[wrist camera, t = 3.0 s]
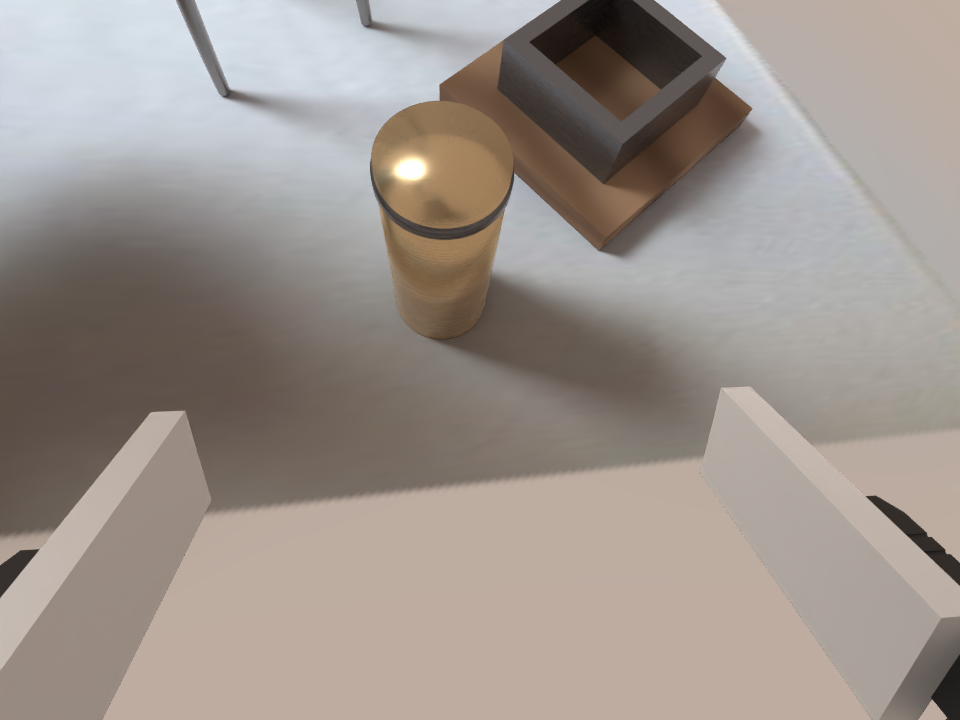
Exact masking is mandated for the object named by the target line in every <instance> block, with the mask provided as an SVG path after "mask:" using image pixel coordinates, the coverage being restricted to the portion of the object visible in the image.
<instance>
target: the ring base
mask: <svg viewBox="0 0 960 720" xmlns="http://www.w3.org/2000/svg"><path fill="white" fill-rule="evenodd" d="M503 42H504V40H503V41H502V42H501V43H499V44H498V45H496V46H495V47H493V48H492V49H490V50H489V51H488V52H486V53H485V54H483V55H482V56H480V57H479V58H477V59H476V60H475V61H473V62H472V63H470V64H469V65H467V66H466V67H464V68H463V69H462V70H460V71H459V72H457V73H456V74H454V75H453V76H451V77H450V78H449V79H447V80H446V81H444V82H443V83H441V84H440V101H449V102H456V103H460V104H464V105H467V106H470V107H472V108H474V109H476V110H478V111H480V112H482V113H484V114H485V115H487V116H488V117H489V118H491V119H492V120H493V121H494V122H495V123H496V124H497V125H498V126H499V127H500V128H501V130H502V131H503V132H504V134H505V135H506V137H507V139H508V141H509V144H510V146H511V149H512V154H513V163H514V172H515V173H516V174H517V175H518V176H519V177H520V178H521V179H522V180H523V181H524V182H525V183H526V184H527V185H529V186H530V187H531V188H532V189H533V190H534V191H535V192H536V193H537V194H538V195H539V196H540V197H541V198H543V199H544V200H545V201H546V202H547V203H548V204H549V205H550V206H551V207H552V208H553V209H554V210H555V211H557V212H558V213H559V214H560V215H561V216H562V217H563V218H564V219H565V220H566V221H567V222H568V223H569V224H571V225H572V226H573V227H574V228H575V229H576V230H577V231H578V232H579V233H580V234H581V235H582V236H583V237H585V238H586V239H587V240H588V241H589V242H590V243H591V244H592V245H593V246H594V247H595V248H596V249H597V250H600V249H601V248H602V247H603V246H604V245H606V244H607V243H608V242H609V241H610V240H611V239H612V238H613V237H615V236H616V235H617V234H618V233H619V232H620V231H621V230H623V229H624V228H625V227H626V226H627V225H628V224H629V223H630V222H632V221H633V220H634V219H635V218H636V217H637V216H638V215H639V214H641V213H642V212H643V211H644V210H645V209H646V208H647V207H648V206H650V205H651V204H652V203H653V202H654V201H655V200H656V199H657V198H659V197H660V196H661V195H662V194H663V193H664V192H665V191H666V190H668V189H669V188H670V187H671V186H672V185H673V184H674V183H676V182H677V181H678V180H679V179H680V178H681V177H682V176H683V175H685V174H686V173H687V172H688V171H689V170H690V169H691V168H692V167H694V166H695V165H696V164H697V163H698V162H699V161H700V160H701V159H703V158H704V157H705V156H706V155H707V154H708V153H709V152H710V151H712V150H713V149H714V148H715V147H716V146H717V145H718V144H719V143H721V142H722V141H723V140H724V139H725V138H726V137H727V136H729V135H730V134H731V133H732V132H733V131H734V130H735V129H736V128H738V127H739V126H740V125H741V123H742V122H743V121H744V119H745V118H746V117H747V115H748V114H749V113H750V111H751V110H752V109H753V108H751V107H750V106H749V105H748V104H746V103H745V102H744V101H743V100H742V99H740V98H739V97H738V96H737V95H735V94H734V93H733V92H732V91H730V90H729V89H728V88H727V87H726V86H724V85H723V84H722V83H721V82H719V81H718V80H717V79H716V78H714V80H713V81H712V83H711V84H710V86H709V88H708V89H707V91H706V93H705V94H704V96H703V98H702V99H701V101H700V102H699V104H698V105H697V106H696V107H695V108H693V109H692V110H691V111H690V112H689V113H687V114H686V115H685V116H684V117H683V118H682V119H680V120H679V121H678V122H677V123H676V124H674V125H673V126H672V127H671V128H670V129H668V130H667V131H666V132H665V133H664V134H663V135H661V136H660V137H659V138H658V139H657V140H655V141H654V142H653V143H652V144H651V145H650V146H648V147H647V148H646V149H645V150H644V151H642V152H641V153H640V154H639V155H638V156H636V157H635V158H634V159H633V160H632V161H631V162H629V163H628V164H627V165H626V166H625V167H623V168H622V169H621V170H620V171H619V172H617V173H616V174H615V175H614V176H613V177H612V178H610V179H609V180H608V181H607V182H606V183H604V184H602V183H601V182H600V181H599V180H598V179H597V178H596V177H595V176H594V175H592V174H591V173H590V172H589V171H588V170H587V169H586V168H585V167H584V166H582V165H581V164H580V163H579V162H578V161H577V160H576V159H575V158H574V157H572V156H571V155H570V154H569V153H568V152H567V151H566V150H565V149H563V148H562V147H561V146H560V145H559V144H558V143H557V142H556V141H555V140H553V139H552V138H551V137H550V136H549V135H548V134H547V133H546V132H545V131H543V130H542V129H541V128H540V127H539V126H538V125H537V124H536V123H535V122H533V121H532V120H531V119H530V118H529V117H528V116H527V115H526V114H525V113H523V112H522V111H521V110H520V109H519V108H518V107H517V106H516V105H514V104H513V103H512V102H511V101H510V100H509V99H508V98H507V97H506V96H504V95H503V94H502V93H501V92H500V91H499V90H498V89H497V87H498V79H499V72H500V64H501V57H502V49H503ZM556 66H557V67H558V68H560V69H561V70H562V71H563V72H564V73H565V74H567V75H568V76H569V77H570V78H571V79H572V80H573V81H575V82H576V83H577V84H578V85H579V86H580V87H582V88H583V89H584V90H585V91H586V92H587V93H589V94H590V95H591V96H592V97H593V98H594V99H595V100H597V101H598V102H599V103H600V104H601V105H602V106H604V107H605V108H606V109H607V110H608V111H609V112H610V113H612V114H613V115H614V116H615V117H616V118H617V119H619V120H620V121H621V122H622V121H623V120H624V119H625V118H627V117H628V116H629V115H630V114H632V113H633V112H634V111H635V110H637V109H638V108H639V107H640V106H641V105H643V104H644V103H645V102H646V101H648V100H649V99H650V98H651V97H653V96H654V95H655V94H656V93H658V92H659V91H660V90H661V89H660V88H658V87H657V86H656V85H655V84H654V83H652V82H651V81H650V80H649V79H648V78H646V77H645V76H644V75H643V74H642V73H640V72H639V71H638V70H637V69H636V68H634V67H633V66H632V65H631V64H630V63H628V62H627V61H626V60H625V59H624V58H622V57H621V56H620V55H619V54H618V53H616V52H615V51H614V50H613V49H612V48H611V47H609V46H608V45H607V44H606V43H605V42H603V41H602V40H601V39H600V38H599V37H597V36H596V35H595V36H594V37H593V38H591V39H590V40H589V41H587V42H586V43H585V44H583V45H582V46H580V47H579V48H578V49H576V50H575V51H574V52H572V53H571V54H570V55H568V56H567V57H565V58H564V59H563V60H561V61H560V62H559V63H557V64H556Z"/></svg>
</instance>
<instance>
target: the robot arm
mask: <svg viewBox="0 0 960 720" xmlns="http://www.w3.org/2000/svg"><path fill="white" fill-rule="evenodd" d="M700 474H701V475H702V476H703V478H704V479H705V481H706V482H707V484H708V485H709V487H710V488H711V489H712V491H713V492H714V494H715V495H716V496H717V498H718V499H719V501H720V502H721V504H722V505H723V507H724V508H725V509H726V511H727V512H728V514H729V515H730V516H731V518H732V520H733V521H734V522H735V524H736V525H737V527H738V528H739V529H740V531H741V532H742V534H743V535H744V537H745V538H746V540H747V541H748V542H749V544H750V545H751V547H752V548H753V550H754V551H755V552H756V554H757V555H758V557H759V558H760V560H761V561H762V563H763V564H764V565H765V567H766V568H767V569H768V571H769V573H770V574H771V575H772V577H773V578H774V580H775V581H776V583H777V584H778V585H779V587H780V588H781V590H782V591H783V592H784V594H785V595H786V597H787V598H788V600H789V601H790V603H791V604H792V605H793V607H794V608H795V610H796V611H797V613H798V614H799V616H800V617H801V618H802V620H803V621H804V623H805V624H806V626H807V627H808V628H809V630H810V631H811V633H812V634H813V636H814V637H815V638H816V640H817V641H818V643H819V644H820V646H821V647H822V649H823V650H824V651H825V653H826V654H827V656H828V657H829V659H830V660H831V661H832V663H833V664H834V666H835V667H836V669H837V670H838V671H839V673H840V674H841V676H842V677H843V679H844V680H845V681H846V683H847V684H848V686H849V687H850V689H851V690H852V692H853V693H854V694H855V696H856V697H857V699H858V700H859V702H860V703H861V704H862V706H863V707H864V708H865V710H866V712H867V713H868V714H869V716H870V717H871V719H872V720H918V719H919V718H920V716H921V715H922V713H923V712H924V710H925V709H926V707H927V706H928V704H929V702H930V701H931V700H932V699H933V701H934V702H935V703H936V704H937V705H938V707H939V708H940V709H941V710H942V712H943V713H944V714H945V715H946V717H947V719H946V720H960V563H959V562H958V561H957V560H956V559H955V558H954V557H953V556H952V555H950V554H946V552H945V549H944V548H943V547H942V546H941V545H939V543H937V542H936V541H935V540H934V539H933V538H932V537H928V536H927V533H926V532H925V531H924V530H923V529H922V528H921V527H920V526H919V525H917V524H916V523H915V522H914V521H913V520H912V519H911V518H910V517H909V516H908V515H907V514H905V513H904V512H903V511H901V510H899V509H897V508H895V507H894V506H893V505H891V504H889V503H887V502H886V501H884V500H882V499H881V498H879V497H877V496H864V495H863V494H862V493H861V492H860V491H859V490H858V489H857V488H856V487H855V486H854V485H853V484H852V483H851V482H850V481H849V480H848V479H847V478H846V477H845V476H843V475H842V474H841V473H840V472H839V471H838V470H837V469H836V468H835V467H834V466H833V465H832V464H831V463H830V462H829V461H828V460H827V459H826V458H825V457H823V456H822V455H821V454H820V453H819V452H818V451H817V450H816V449H815V448H814V447H813V446H812V445H811V444H810V443H809V442H808V441H807V440H806V439H805V438H803V437H802V436H801V435H800V434H799V433H798V432H797V431H796V430H795V429H794V428H793V427H792V426H791V425H790V424H789V423H788V422H787V421H786V420H785V419H783V418H782V417H781V416H780V415H779V414H778V413H777V412H776V411H775V410H774V409H773V408H772V407H771V406H770V405H769V404H768V403H767V402H766V401H765V400H763V399H762V398H761V397H760V396H759V395H758V394H757V393H756V392H755V391H754V390H753V389H752V388H751V387H727V388H721V391H720V395H719V399H718V403H717V407H716V411H715V415H714V419H713V423H712V427H711V431H710V435H709V439H708V443H707V447H706V451H705V455H704V459H703V463H702V467H701V471H700ZM211 501H212V500H211V497H210V493H209V490H208V487H207V483H206V480H205V476H204V473H203V469H202V466H201V463H200V459H199V456H198V452H197V449H196V446H195V442H194V439H193V435H192V432H191V429H190V425H189V422H188V418H187V415H186V411H164V412H151V413H150V414H149V415H148V416H147V418H146V419H145V420H144V421H143V423H142V424H141V425H140V426H139V428H138V429H137V430H136V431H135V432H134V434H133V435H132V436H131V437H130V439H129V440H128V441H127V442H126V444H125V445H124V446H123V447H122V449H121V450H120V451H119V452H118V453H117V455H116V456H115V457H114V458H113V460H112V461H111V462H110V463H109V465H108V466H107V467H106V468H105V470H104V471H103V472H102V473H101V474H100V476H99V477H98V478H97V479H96V481H95V482H94V483H93V484H92V486H91V487H90V488H89V489H88V490H87V492H86V493H85V494H84V495H83V497H82V498H81V499H80V500H79V502H78V503H77V504H76V505H75V507H74V508H73V509H72V510H71V511H70V513H69V514H68V515H67V516H66V518H65V519H64V520H63V521H62V523H61V524H60V525H59V526H58V528H57V529H56V530H55V531H54V532H53V534H52V535H51V536H50V537H49V539H48V540H47V541H46V542H45V544H44V545H43V546H42V547H41V549H38V550H23V551H22V550H21V551H19V552H18V553H16V554H15V555H14V556H12V557H11V558H10V559H8V560H7V561H6V562H4V563H3V564H2V565H0V720H102V719H103V717H104V715H105V713H106V711H107V709H108V707H109V705H110V703H111V701H112V699H113V697H114V695H115V693H116V691H117V689H118V687H119V685H120V683H121V681H122V679H123V677H124V675H125V673H126V671H127V669H128V667H129V665H130V663H131V661H132V659H133V657H134V655H135V653H136V651H137V649H138V647H139V645H140V643H141V641H142V639H143V637H144V635H145V633H146V631H147V629H148V627H149V625H150V623H151V621H152V619H153V617H154V615H155V613H156V611H157V609H158V607H159V605H160V603H161V601H162V599H163V597H164V595H165V593H166V591H167V589H168V587H169V585H170V583H171V581H172V579H173V577H174V575H175V573H176V571H177V569H178V567H179V565H180V563H181V561H182V559H183V557H184V555H185V553H186V551H187V549H188V547H189V545H190V543H191V541H192V539H193V537H194V535H195V533H196V531H197V529H198V527H199V525H200V523H201V521H202V519H203V517H204V515H205V513H206V511H207V509H208V507H209V505H210V503H211Z"/></svg>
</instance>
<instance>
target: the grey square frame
mask: <svg viewBox="0 0 960 720" xmlns="http://www.w3.org/2000/svg"><path fill="white" fill-rule="evenodd" d="M595 35H596V36H597V37H599V38H600V39H601V40H602V41H603V42H605V43H606V44H607V45H608V46H609V47H611V48H612V49H613V50H614V51H615V52H616V53H618V54H619V55H620V56H621V57H622V58H624V59H625V60H626V61H627V62H628V63H630V64H631V65H632V66H633V67H634V68H636V69H637V70H638V71H639V72H640V73H642V74H643V75H644V76H645V77H646V78H648V79H649V80H650V81H651V82H652V83H654V84H655V85H656V86H657V87H658V88H660V89H661V90H660V91H659V92H658V93H656V94H655V95H654V96H653V97H651V98H650V99H649V100H648V101H646V102H645V103H644V104H643V105H641V106H640V107H639V108H638V109H637V110H635V111H634V112H633V113H632V114H630V115H629V116H628V117H627V118H625V119H624V120H623V121H622V122H621V121H620V120H619V119H617V118H616V117H615V116H614V115H613V114H612V113H610V112H609V111H608V110H607V109H606V108H605V107H604V106H602V105H601V104H600V103H599V102H598V101H597V100H595V99H594V98H593V97H592V96H591V95H590V94H589V93H587V92H586V91H585V90H584V89H583V88H582V87H580V86H579V85H578V84H577V83H576V82H575V81H573V80H572V79H571V78H570V77H569V76H568V75H567V74H565V73H564V72H563V71H562V70H561V69H560V68H558V67H557V66H556V64H557V63H559V62H560V61H561V60H563V59H564V58H565V57H567V56H568V55H570V54H571V53H572V52H574V51H575V50H576V49H578V48H579V47H580V46H582V45H583V44H585V43H586V42H587V41H589V40H590V39H591V38H593V37H594V36H595ZM725 60H726V57H724V56H723V55H722V54H721V53H719V52H718V51H717V50H716V49H714V48H713V47H712V46H711V45H709V44H708V43H707V42H706V41H704V40H703V39H702V38H701V37H699V36H698V35H697V34H696V33H694V32H693V31H692V30H691V29H689V28H688V27H687V26H686V25H684V24H683V23H682V22H681V21H679V20H678V19H677V18H676V17H674V16H673V15H672V14H671V13H669V12H668V11H667V10H666V9H664V8H663V7H662V6H661V5H659V4H658V3H657V2H656V1H654V0H561V1H559V2H558V3H557V4H555V5H554V6H552V7H551V8H549V9H548V10H546V11H545V12H543V13H542V14H541V15H539V16H538V17H536V18H535V19H533V20H532V21H530V22H529V23H528V24H526V25H525V26H523V27H522V28H520V29H519V30H517V31H516V32H515V33H513V34H512V35H510V36H509V37H507V38H506V39H504V42H503V49H502V57H501V64H500V72H499V79H498V87H497V89H498V90H499V91H500V92H501V93H502V94H503V95H504V96H506V97H507V98H508V99H509V100H510V101H511V102H512V103H513V104H514V105H516V106H517V107H518V108H519V109H520V110H521V111H522V112H523V113H525V114H526V115H527V116H528V117H529V118H530V119H531V120H532V121H533V122H535V123H536V124H537V125H538V126H539V127H540V128H541V129H542V130H543V131H545V132H546V133H547V134H548V135H549V136H550V137H551V138H552V139H553V140H555V141H556V142H557V143H558V144H559V145H560V146H561V147H562V148H563V149H565V150H566V151H567V152H568V153H569V154H570V155H571V156H572V157H574V158H575V159H576V160H577V161H578V162H579V163H580V164H581V165H582V166H584V167H585V168H586V169H587V170H588V171H589V172H590V173H591V174H592V175H594V176H595V177H596V178H597V179H598V180H599V181H600V182H601V183H602V184H604V183H606V182H607V181H608V180H609V179H610V178H612V177H613V176H614V175H615V174H616V173H617V172H619V171H620V170H621V169H622V168H623V167H625V166H626V165H627V164H628V163H629V162H631V161H632V160H633V159H634V158H635V157H636V156H638V155H639V154H640V153H641V152H642V151H644V150H645V149H646V148H647V147H648V146H650V145H651V144H652V143H653V142H654V141H655V140H657V139H658V138H659V137H660V136H661V135H663V134H664V133H665V132H666V131H667V130H668V129H670V128H671V127H672V126H673V125H674V124H676V123H677V122H678V121H679V120H680V119H682V118H683V117H684V116H685V115H686V114H687V113H689V112H690V111H691V110H692V109H693V108H695V107H696V106H697V105H698V104H699V102H700V101H701V99H702V98H703V96H704V94H705V93H706V91H707V89H708V88H709V86H710V84H711V83H712V81H713V80H714V78H715V76H716V75H717V73H718V71H719V70H720V68H721V67H722V65H723V63H724V62H725Z"/></svg>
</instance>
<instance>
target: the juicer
mask: <svg viewBox="0 0 960 720" xmlns="http://www.w3.org/2000/svg"><path fill="white" fill-rule="evenodd" d="M176 2H177V4H178V7H179V9H180V11H181V13H182V16H183V18H184V20H185V22H186V25H187V27H188V29H189V31H190V34H191V36H192V38H193V40H194V42H195V45H196V47H197V49H198V51H199V53H200V55H201V58H202V60H203V62H204V64H205V66H206V68H207V70H208V72H209V74H210V77H211V79H212V81H213V83H214V85H215V87H216V89H217V91H218V93H219V94H220V95H221V96H227V95H228V94H229V93H230V88H229V86H228V83H227V81H226V79H225V76H224V74H223V71H222V69H221V66H220V64H219V61H218V59H217V56H216V54H215V51H214V49H213V46H212V44H211V41H210V38H209V36H208V33H207V31H206V28H205V26H204V23H203V20H202V18H201V15H200V13H199V10H198V7H197V5H196V2H195V0H176ZM356 2H357V6H358V11H359V15H360V20H361V23H362V24H363V25H364V26H369V25H371V23H372V17H371V11H370V4H369V0H356Z"/></svg>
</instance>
